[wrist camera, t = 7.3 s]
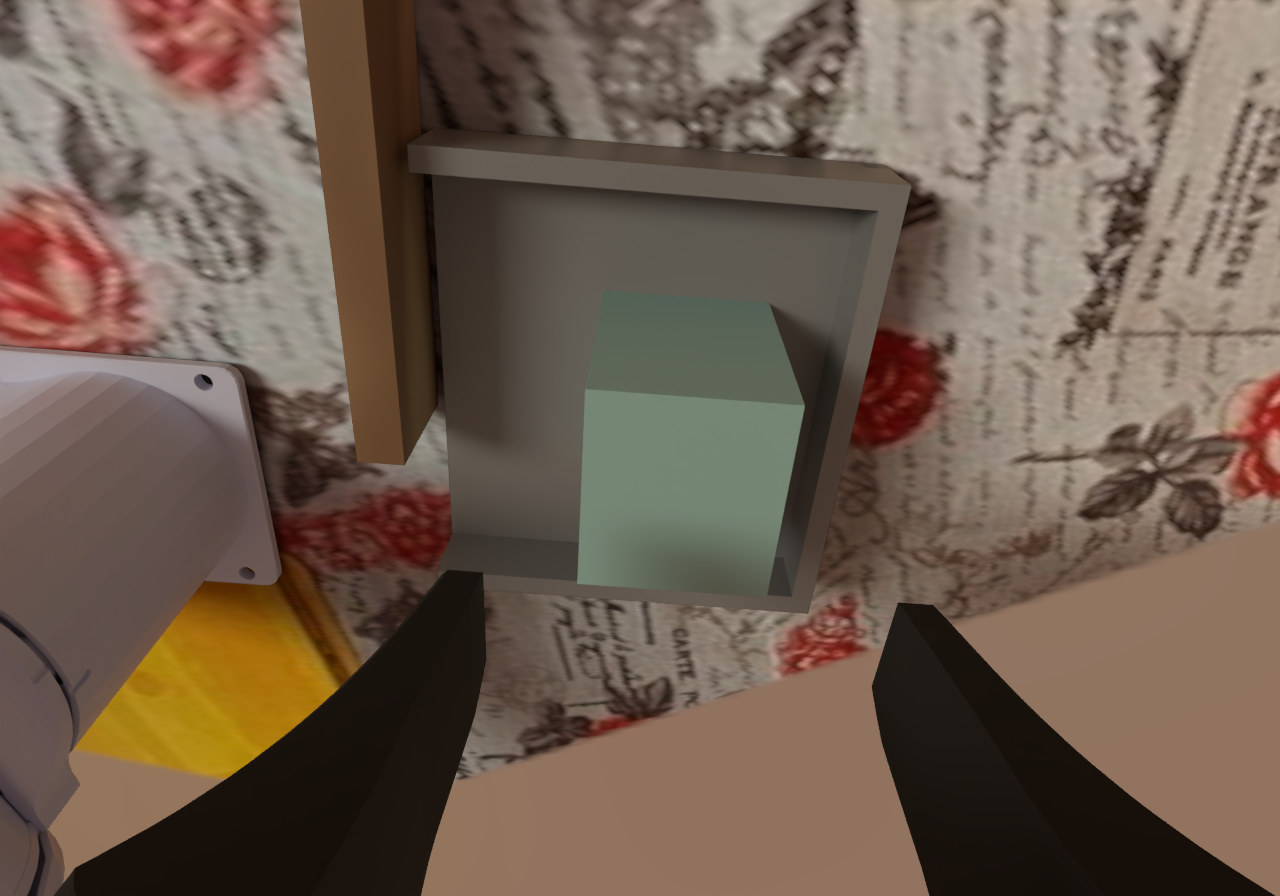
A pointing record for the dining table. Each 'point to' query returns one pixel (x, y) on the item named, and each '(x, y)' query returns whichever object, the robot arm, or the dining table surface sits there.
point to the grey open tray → (638, 263)
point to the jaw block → (686, 445)
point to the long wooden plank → (375, 215)
